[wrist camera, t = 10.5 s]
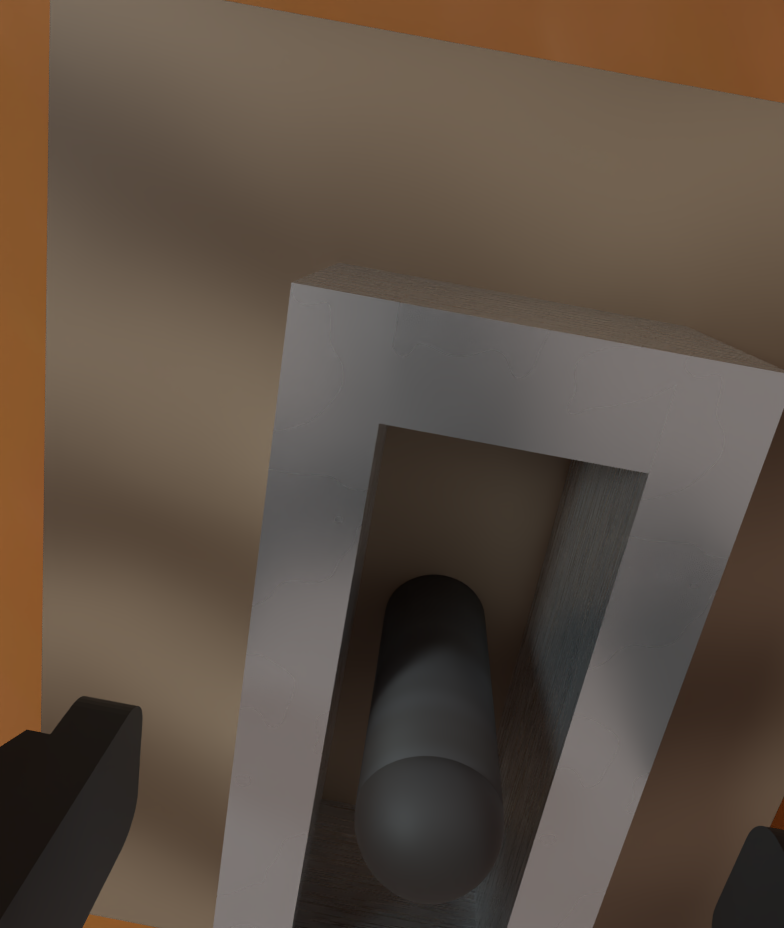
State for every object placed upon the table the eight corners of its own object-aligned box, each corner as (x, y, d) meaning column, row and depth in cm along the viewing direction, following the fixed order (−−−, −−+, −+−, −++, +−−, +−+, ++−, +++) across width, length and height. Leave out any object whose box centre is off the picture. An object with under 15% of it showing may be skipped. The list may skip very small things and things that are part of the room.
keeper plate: (95, -4, 12) (-365, -293, 5) (1004, 164, 12) (1757, 92, 5) (68, 853, 19) (-153, 1226, 12) (659, 969, 19) (786, 1416, 12)
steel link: (339, 262, 12) (290, 282, 8) (686, 326, 12) (796, 375, 8) (257, 838, 16) (201, 1022, 13) (513, 887, 16) (533, 1087, 13)
